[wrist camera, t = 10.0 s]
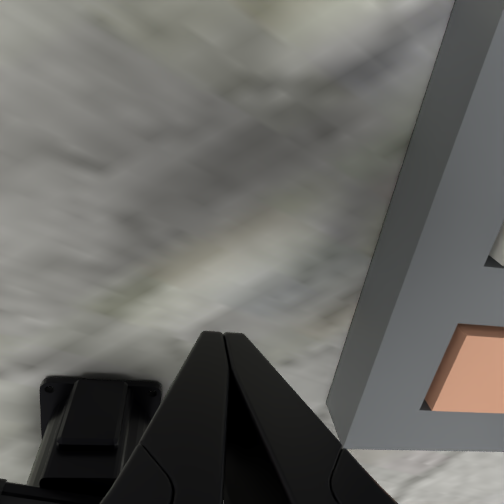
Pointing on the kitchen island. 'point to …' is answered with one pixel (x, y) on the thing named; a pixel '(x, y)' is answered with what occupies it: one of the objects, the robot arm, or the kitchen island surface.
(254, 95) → the kitchen island surface
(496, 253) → the offwhite key
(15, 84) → the kitchen island surface
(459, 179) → the key panel
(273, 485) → the robot arm
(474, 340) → the terracotta key
